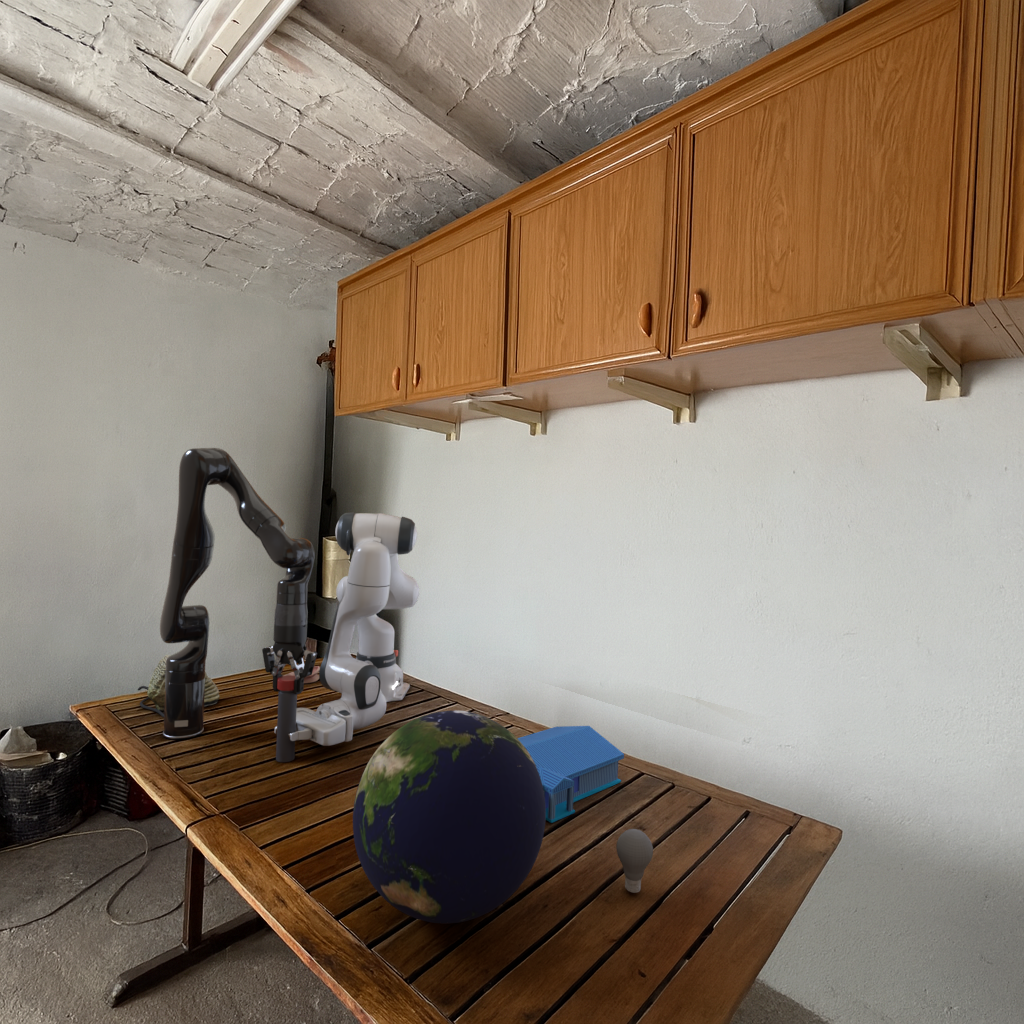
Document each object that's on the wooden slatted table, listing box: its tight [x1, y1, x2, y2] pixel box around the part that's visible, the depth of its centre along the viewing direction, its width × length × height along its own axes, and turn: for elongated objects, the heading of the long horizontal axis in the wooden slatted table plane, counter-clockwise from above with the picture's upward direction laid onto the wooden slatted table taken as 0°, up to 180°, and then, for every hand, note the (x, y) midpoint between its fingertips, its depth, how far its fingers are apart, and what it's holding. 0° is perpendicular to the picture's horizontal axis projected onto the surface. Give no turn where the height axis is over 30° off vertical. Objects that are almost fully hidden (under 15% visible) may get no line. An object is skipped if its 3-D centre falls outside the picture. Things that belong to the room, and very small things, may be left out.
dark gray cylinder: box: [275, 690, 298, 763], centre depth 152 cm, size 4×4×18 cm
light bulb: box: [615, 828, 654, 894], centre depth 106 cm, size 6×6×10 cm
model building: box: [516, 725, 625, 824], centre depth 140 cm, size 39×24×10 cm, turn 132°
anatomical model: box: [282, 665, 320, 684], centre depth 215 cm, size 13×4×12 cm
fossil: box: [147, 654, 221, 712], centre depth 185 cm, size 9×18×15 cm, turn 132°
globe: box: [352, 709, 547, 925], centre depth 100 cm, size 30×30×30 cm
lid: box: [277, 675, 296, 691], centre depth 152 cm, size 5×5×2 cm
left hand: (287, 691), depth 152 cm, fingers closed on lid, 5 cm apart
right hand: (282, 734), depth 151 cm, fingers closed on dark gray cylinder, 4 cm apart
